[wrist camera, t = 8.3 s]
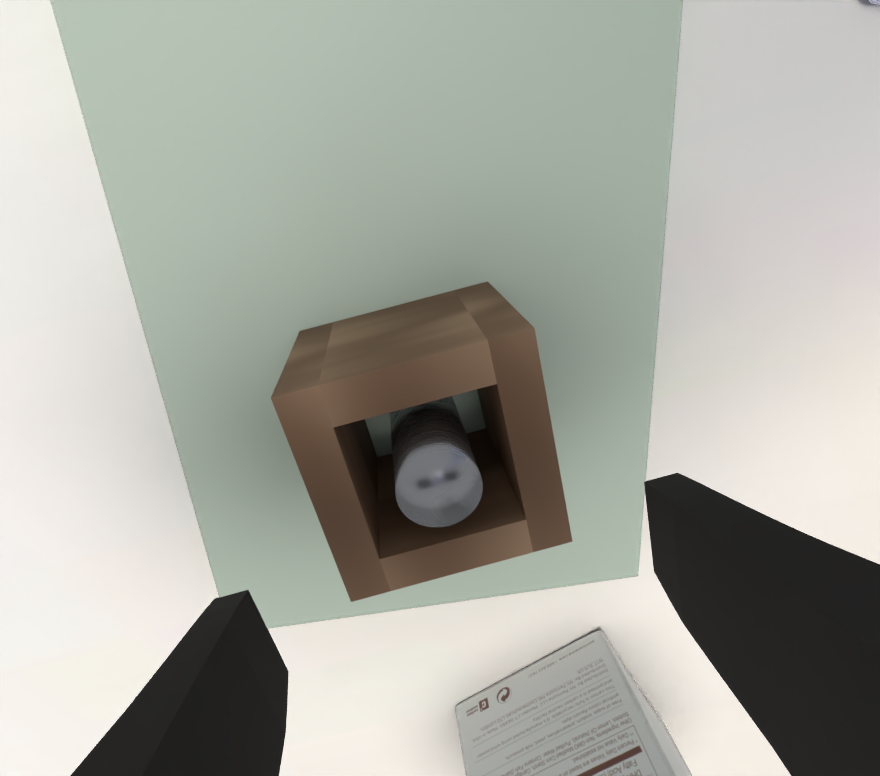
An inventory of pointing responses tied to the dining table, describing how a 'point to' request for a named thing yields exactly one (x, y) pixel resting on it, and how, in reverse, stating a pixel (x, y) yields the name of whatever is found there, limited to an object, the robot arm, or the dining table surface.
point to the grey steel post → (434, 464)
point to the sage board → (385, 238)
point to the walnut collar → (409, 384)
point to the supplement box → (567, 720)
